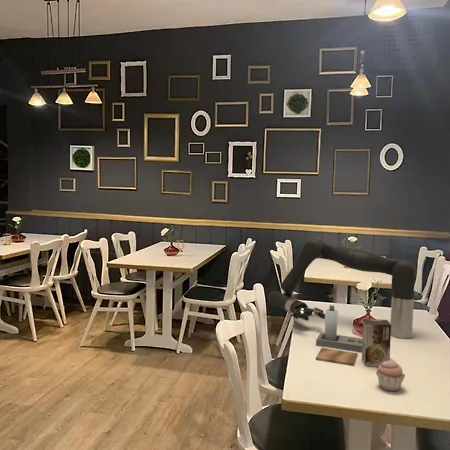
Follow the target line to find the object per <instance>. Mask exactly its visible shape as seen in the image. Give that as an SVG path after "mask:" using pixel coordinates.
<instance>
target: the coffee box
mask: <svg viewBox="0 0 450 450" xmlns="http://www.w3.org/2000/svg"><path fill="white" fill-rule="evenodd" d="M391 337H392V335H391V324H390V321H389V320H388V319H377V318H375V319H373V318H372V319H371V318H363V326H362V338H363V342H362V352H361V361H362V363H363V367H364V366H365V367H379V365H381V364H382V363H383V362H385V361H389V359H390V358H391V339H392V338H391Z"/></svg>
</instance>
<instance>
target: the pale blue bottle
mask: <svg viewBox="0 0 450 450" xmlns="http://www.w3.org/2000/svg"><path fill="white" fill-rule="evenodd" d="M338 312H339V310H337V309H335V305H334V304H333V305H329V307H328V309H326V310H325V323H324V324H325V326H324V333H325V340H332V341H336V336H337V335H338V334H337V333H338V314H339V313H338Z"/></svg>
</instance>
